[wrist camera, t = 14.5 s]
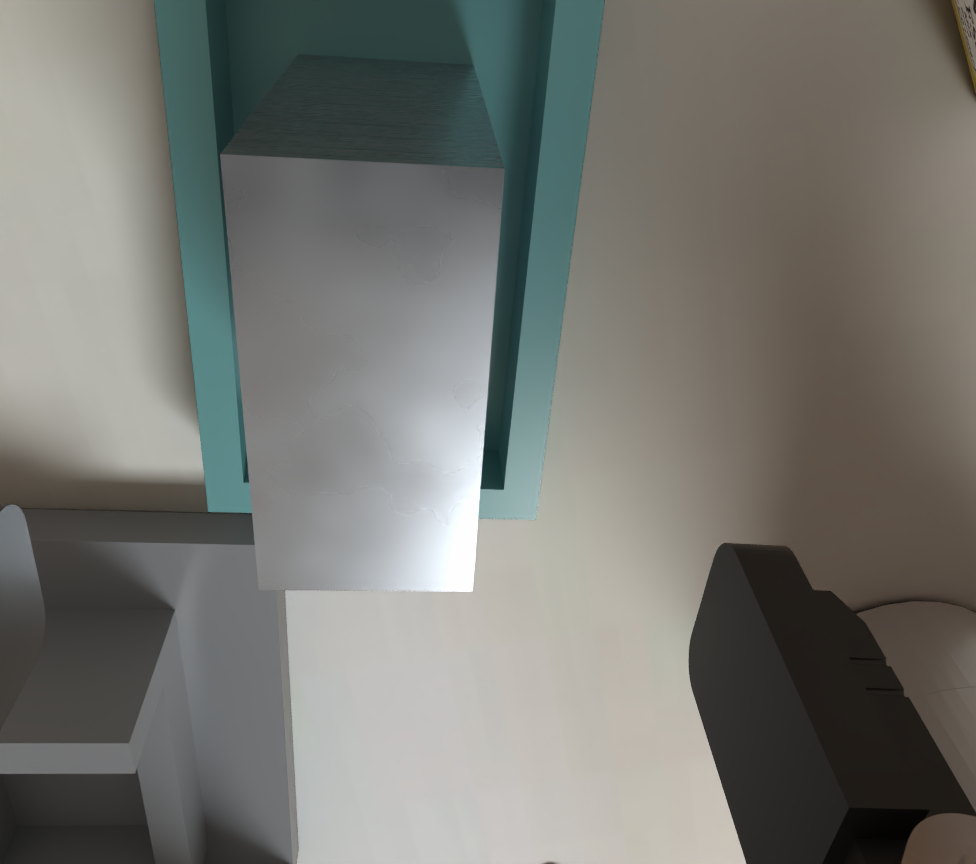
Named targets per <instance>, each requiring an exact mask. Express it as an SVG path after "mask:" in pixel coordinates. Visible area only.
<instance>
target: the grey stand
mask: <svg viewBox="0 0 976 864" xmlns="http://www.w3.org/2000/svg"><path fill="white" fill-rule="evenodd" d="M21 510H22V512H23V514H24V516H25V519H26V522H27V527H28V531H29V536H30V541H31V545H32V550H33V555H34V559H35V564H36V568H37V573H38V578H39V582H40V587H41V592H42V596H43V601H44V606H45V616H46V621H45V633H44V640H43V644H42V648H41V651H40V655H39V657H38V660H37V662H36V664H35V666H34V668H33V670H32V672H31V674H30V676H29V677H28V679H27V681H26V683H25V685H24V687H23V689H22V691H21V692H20V694H19V696H18V698H17V700H16V702H15V704H14V706H13V707H12V709H11V711H10V713H9V715H8V717H7V719H6V721H5V722H4V724H3V726H2V728H1V730H0V864H297V857H298V850H299V847H298V828H297V810H296V791H295V773H294V754H293V735H292V717H291V698H290V679H289V661H288V642H287V624H286V605H285V590H259V587H258V575H257V564H256V553H255V542H254V530H253V519H252V514H218V513H177V512H137V511H96V510H55V509H21Z"/></svg>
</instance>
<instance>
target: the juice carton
mask: <svg viewBox="0 0 976 864" xmlns="http://www.w3.org/2000/svg"><path fill="white" fill-rule="evenodd" d="M951 1H952V5H953V9H954V13H955V16H956V20H957V24H958V28H959V31H960V35H961V39H962V43H963V47H964V50H965V54H966V58H967V62H968V66H969V69H970V73H971V77H972V81H973V84H974V88H975V92H976V0H951Z"/></svg>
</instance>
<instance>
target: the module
mask: <svg viewBox="0 0 976 864" xmlns="http://www.w3.org/2000/svg"><path fill="white" fill-rule="evenodd" d="M220 159H221V170H222V181H223V193H224V204H225V215H226V226H227V238H228V249H229V260H230V271H231V283H232V294H233V305H234V316H235V328H236V339H237V350H238V361H239V373H240V384H241V395H242V406H243V418H244V429H245V440H246V452H247V463H248V474H249V485H250V497H251V508H252V519H253V530H254V542H255V553H256V564H257V575H258V587H259V590H330V591H453V592H473V579H474V566H475V553H476V540H477V527H478V514H479V501H480V487H481V474H482V461H483V448H484V435H485V422H486V409H487V395H488V382H489V369H490V356H491V343H492V330H493V317H494V303H495V290H496V277H497V264H498V251H499V238H500V225H501V211H502V198H503V185H504V172H505V168H504V164H503V161H502V158H501V154H500V151H499V148H498V144H497V141H496V138H495V134H494V131H493V128H492V124H491V121H490V118H489V114H488V111H487V108H486V104H485V101H484V98H483V94H482V91H481V88H480V84H479V81H478V78H477V74H476V71H475V68H474V65H467V64H450V63H434V62H418V61H401V60H385V59H369V58H353V57H336V56H320V55H304V54H297V56H296V57H295V58H294V60H293V61H292V62H291V63H290V65H289V66H288V67H287V69H286V70H285V71H284V72H283V74H282V75H281V76H280V78H279V79H278V80H277V82H276V83H275V84H274V85H273V87H272V88H271V89H270V91H269V92H268V93H267V94H266V96H265V97H264V98H263V100H262V101H261V102H260V103H259V105H258V106H257V107H256V109H255V110H254V111H253V112H252V114H251V115H250V116H249V118H248V119H247V120H246V121H245V123H244V124H243V125H242V127H241V128H240V129H239V130H238V132H237V133H236V134H235V136H234V137H233V138H232V139H231V141H230V142H229V143H228V145H227V146H226V147H225V148H224V150H223V151H222V152H221V154H220Z"/></svg>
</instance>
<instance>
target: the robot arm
mask: <svg viewBox="0 0 976 864" xmlns="http://www.w3.org/2000/svg"><path fill="white" fill-rule="evenodd" d="M45 621H46V616H45V606H44V601H43V596H42V592H41V587H40V582H39V578H38V573H37V568H36V564H35V559H34V555H33V550H32V545H31V541H30V536H29V531H28V527H27V522H26V519H25V516H24V514H23V512H22V510H21V509H20V508H19V507H18V506H16V505H10V504H0V730H1V728H2V726H3V724H4V722H5V721H6V719H7V717H8V715H9V713H10V711H11V709H12V707H13V706H14V704H15V702H16V700H17V698H18V696H19V694H20V692H21V691H22V689H23V687H24V685H25V683H26V681H27V679H28V677H29V676H30V674H31V672H32V670H33V668H34V666H35V664H36V662H37V660H38V657H39V655H40V651H41V648H42V644H43V640H44V633H45ZM689 675H690V682H691V687H692V691H693V694H694V697H695V700H696V704H697V707H698V710H699V713H700V716H701V719H702V723H703V726H704V729H705V732H706V735H707V739H708V742H709V745H710V748H711V751H712V755H713V758H714V761H715V764H716V767H717V771H718V774H719V777H720V780H721V783H722V787H723V790H724V793H725V796H726V799H727V803H728V806H729V809H730V812H731V815H732V818H733V822H734V825H735V828H736V831H737V834H738V838H739V841H740V844H741V847H742V850H743V854H744V857H745V860H746V863H747V864H976V613H974V612H972V611H970V610H968V609H966V608H964V607H960V606H955V605H951V604H946V603H941V602H919V601H912V602H904V603H897V604H890V605H884V606H880V607H877V608H873V609H870V610H866V611H863V612H859V613H857V614H855V613H854V612H853V611H852V610H851V609H850V608H849V607H848V606H847V605H845V604H844V603H843V602H842V601H841V600H840V599H839V598H838V597H837V596H836V595H834V594H833V593H832V592H831V591H817V590H813V589H812V587H811V585H810V583H809V581H808V579H807V578H806V576H805V574H804V572H803V570H802V568H801V566H800V564H799V563H798V561H797V559H796V557H795V555H794V554H793V552H792V551H791V550H790V549H789V548H788V547H786V546H774V545H755V544H735V543H724V544H722V545H721V546H720V547H719V548H718V550H717V552H716V554H715V557H714V560H713V563H712V566H711V570H710V573H709V577H708V580H707V584H706V587H705V590H704V594H703V597H702V601H701V604H700V608H699V611H698V614H697V618H696V621H695V625H694V628H693V632H692V635H691V640H690V646H689Z"/></svg>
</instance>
